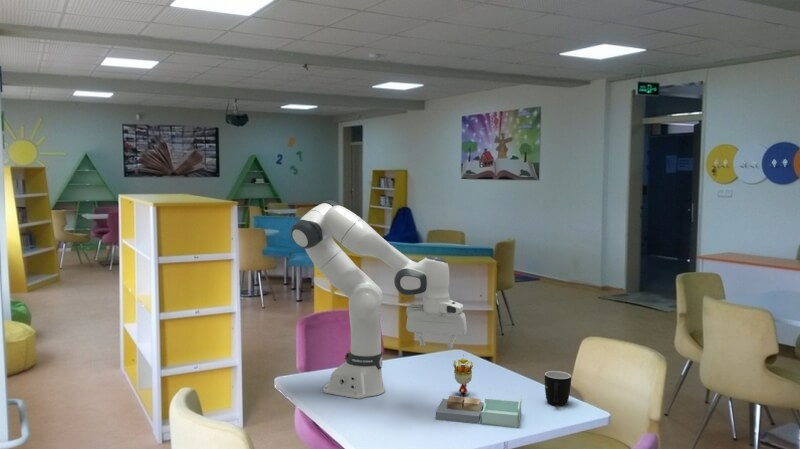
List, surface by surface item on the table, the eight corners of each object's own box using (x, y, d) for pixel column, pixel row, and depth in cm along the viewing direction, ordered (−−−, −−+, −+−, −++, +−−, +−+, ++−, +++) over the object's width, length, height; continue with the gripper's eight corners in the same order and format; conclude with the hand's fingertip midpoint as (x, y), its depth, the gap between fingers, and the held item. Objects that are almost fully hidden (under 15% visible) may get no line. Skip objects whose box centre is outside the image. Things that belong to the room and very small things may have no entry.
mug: (545, 397, 231) (545, 369, 231) (571, 400, 229) (571, 372, 228) (541, 408, 220) (542, 379, 219) (568, 412, 217) (569, 382, 216)
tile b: (446, 408, 212) (447, 401, 212) (449, 403, 217) (449, 396, 217) (462, 409, 211) (462, 402, 211) (464, 404, 216) (464, 397, 215)
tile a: (463, 410, 211) (463, 402, 211) (465, 404, 216) (465, 397, 215) (478, 411, 210) (479, 404, 209) (480, 406, 214) (480, 399, 214)
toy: (471, 399, 229) (472, 357, 228) (451, 397, 230) (452, 356, 229) (473, 392, 236) (474, 352, 235) (453, 391, 237) (454, 350, 236)
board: (435, 419, 209) (435, 411, 209) (442, 405, 222) (442, 398, 221) (478, 423, 206) (479, 416, 206) (483, 409, 218) (483, 402, 218)
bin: (480, 423, 206) (480, 405, 205) (484, 409, 218) (485, 392, 218) (518, 427, 203) (519, 409, 202) (521, 413, 215) (521, 395, 215)
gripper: (403, 305, 215) (403, 346, 215) (464, 309, 208) (463, 351, 209) (409, 302, 221) (409, 342, 221) (468, 305, 214) (468, 346, 215)
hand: (436, 346), depth 215 cm, fingers open, 8 cm apart
